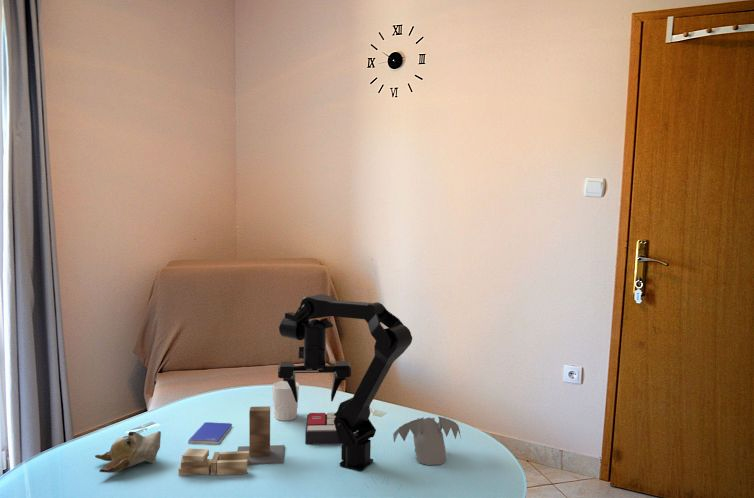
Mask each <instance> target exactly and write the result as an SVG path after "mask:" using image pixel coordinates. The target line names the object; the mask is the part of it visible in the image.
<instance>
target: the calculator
mask: <svg viewBox="0 0 754 498" xmlns="http://www.w3.org/2000/svg"><path fill="white" fill-rule="evenodd" d="M335 413H336V412H309V413H308V414H307V415H306V425H305V435H304V436H305V437H304V438H305V439H304V440H305V441H304V442H305V443H304V444H305V445H342V444H341V443H339V439H338V436H337V432H336V428H335V424H334V419H335V417H336V416H334V414H335Z"/></svg>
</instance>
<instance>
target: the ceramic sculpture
mask: <svg viewBox="0 0 754 498" xmlns="http://www.w3.org/2000/svg"><path fill="white" fill-rule="evenodd" d="M161 437H162V432H161V431H157V432H152V433H151V434H148V435H146V436H143V435H141V434H140V433H139V432H136V431H129V432H128V433H127V436H123V437H118V438H117V439H116V440H114V442H113V443H112V444H111V446H110V449H109V451H106V452H105V453H104V454H96V455H94V457H95V459H98V460H102V461H105V462H107V463H106V464H105V466H104V467H102V468H101V469H99V471H98V472H99V473H108V474H109V473H111V474H113V473H118V472H121V471H122V470H123V469H126V468H129V467H133V466H135V465H137V464H140V463H142V462H148V463H150V464H151V463H154V462H155V460H156V458H157V457H158V456H157V454H158V452H159V450H160V448H161Z"/></svg>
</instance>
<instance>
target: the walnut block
mask: <svg viewBox="0 0 754 498" xmlns="http://www.w3.org/2000/svg"><path fill="white" fill-rule="evenodd" d="M248 414H249V417H248V418H249V421H248V422H249V425H248V426H249V427H248V428H249V431H248V432H249V435H248V436H249V437H248V438H249V439H248V440H249V445H248V446H249V457H259V456H270V445H271V406H269V405H268V406H267V405H266V406H250V407H249V413H248Z"/></svg>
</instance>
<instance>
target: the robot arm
mask: <svg viewBox="0 0 754 498" xmlns="http://www.w3.org/2000/svg"><path fill="white" fill-rule="evenodd" d="M327 317H335V318H344V319H345V318H347V319H354V320H355V319H356V320H364V321H365V322H366V323H367V325H368V329H369V332H370V335H371V336H372V338H373V339H374V340H375V342H374V346H373V347H374V350H373V351H374V356H373V358H372V360H371V362H370V364H369V366H368V368H367V370H366V371H365V374H364V375H363V377H362V379H361V380H360V383H359V384H358V387H357V389H356V391H355V392H354V395H353V397H351V398H348V399H346V400H344V401H342V402H340V403H339V405H338V408H337V410H336V412H334V413H335V414H334V416H336V417H335V419H334V424H335V428H336V432H337V436H338V439H339V443H341V444H340V445H341V449H340V450H341V452H340V454H341V456H340V457H341V462H339V466H340V467H345V468H348V469H351V470H355V471H359V472H362V471H364V470H365V469H366V468H367V467H369V465H371V464H372V463H374V458H371V448H372V447H371V442H372V441H371V438H374V437H375V435H376V431H377V429H376V428H375V426H374V425H373V423H372V422H371V420H370V415H371V410H370V406H371V404H372V402H373V401H374V399H375V396H376V394H377V393H378V391H379V389H380V388H381V385H382V384H383V381H384V380H385V378H386V376H387V374H388V372H389V370H390V368H391V367H392V365H393V363H394V362H395V361H396V360H397V359H398V358H400V357H401V356H402V354H404V352H405V351H406V350H407V349H408V348H409V347H410V346H411V344H412V341H413V336H412V333H411V330H410V329H409V328H408V327H407V326H406V325H405V324H404V323H403V322H402V321H401V320H400V318H398V317H397V316H395V315H394V314H393V313H391V312H390V311H389V310H388V309H387V308H386V307H385V306H384V305H383V303H381V302H377V301H375V302H366V301H353V300H352V301H351V300H338V299H336V298H334V297H332V296H330V295H327V294H324V293H321V294H315V295H311V296H310V295H309V296H305V297H303V299H302V300H301V302H300V305H299V307H298V308H297V310H296V312H293V311H290V312H288V311H287V312H285V313H284V318H282V319H281V321H280V323H279V326H278V328H279V329H278V331H279V334H280V335H281V337H284V338H287V339H292V340H297V341H303V346H298V360H303V365H295V363H294V361H281V362H280V363H278V369H277V370H278V371H277V378H278V379H282V381H287V382H288V384H289V386H290V388H291V390H292V393H293V395H294V398H295V401H296V402H297V387H296V382H297V380H296V374H322V373H323V374H326V373H327V374H328V373H330V374H331V373H332V374H333V376H332V377H333V378H332V384H331V385H332V387H331V393H330V402H334V400H335V399H334V398H335V397H336V393H337V391H338V389H339V388H340V387H339V386H340V385H341V383H342V381H346V379H347V378H350V377H352V367H351V362H349V361H348V360H335V362H334V365H333V364H332V365H331V364H330V365H327V364H326V363H327V362H326V359H327V354H326V353H327V329H330V328H333V327H334V324H333V323H332V322H331V321H330V320H329V319H328V318H327ZM321 318H322V319H321ZM382 324H383V325H384V326H385V327H386V328H384V327H383V325H382Z"/></svg>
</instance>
